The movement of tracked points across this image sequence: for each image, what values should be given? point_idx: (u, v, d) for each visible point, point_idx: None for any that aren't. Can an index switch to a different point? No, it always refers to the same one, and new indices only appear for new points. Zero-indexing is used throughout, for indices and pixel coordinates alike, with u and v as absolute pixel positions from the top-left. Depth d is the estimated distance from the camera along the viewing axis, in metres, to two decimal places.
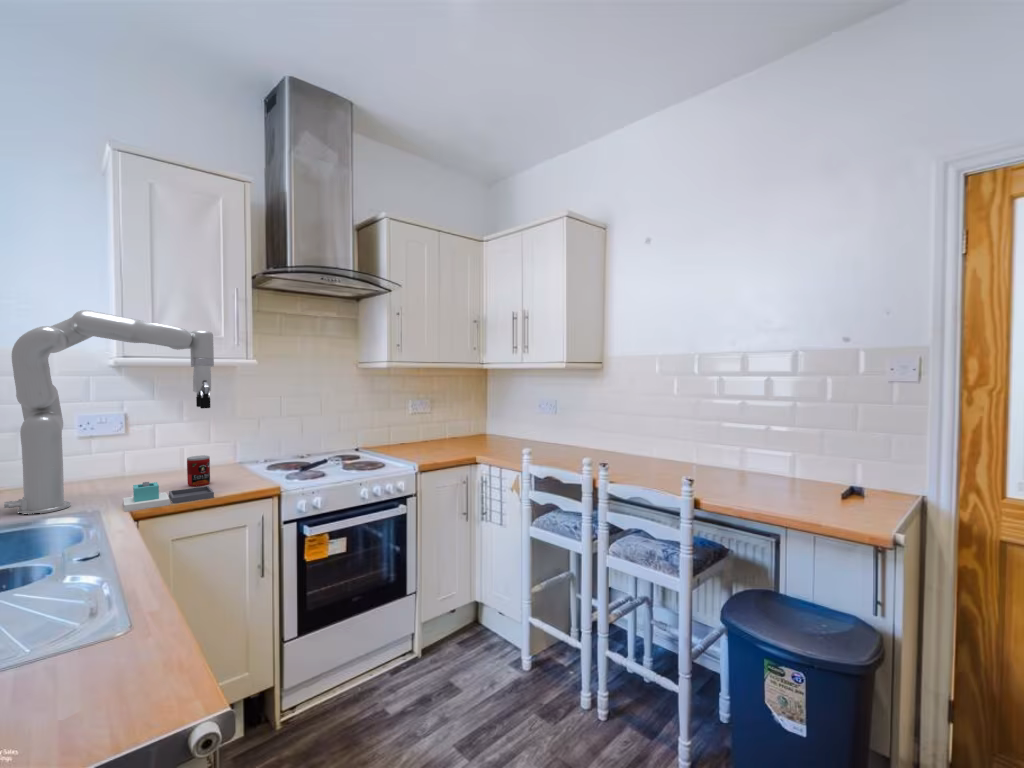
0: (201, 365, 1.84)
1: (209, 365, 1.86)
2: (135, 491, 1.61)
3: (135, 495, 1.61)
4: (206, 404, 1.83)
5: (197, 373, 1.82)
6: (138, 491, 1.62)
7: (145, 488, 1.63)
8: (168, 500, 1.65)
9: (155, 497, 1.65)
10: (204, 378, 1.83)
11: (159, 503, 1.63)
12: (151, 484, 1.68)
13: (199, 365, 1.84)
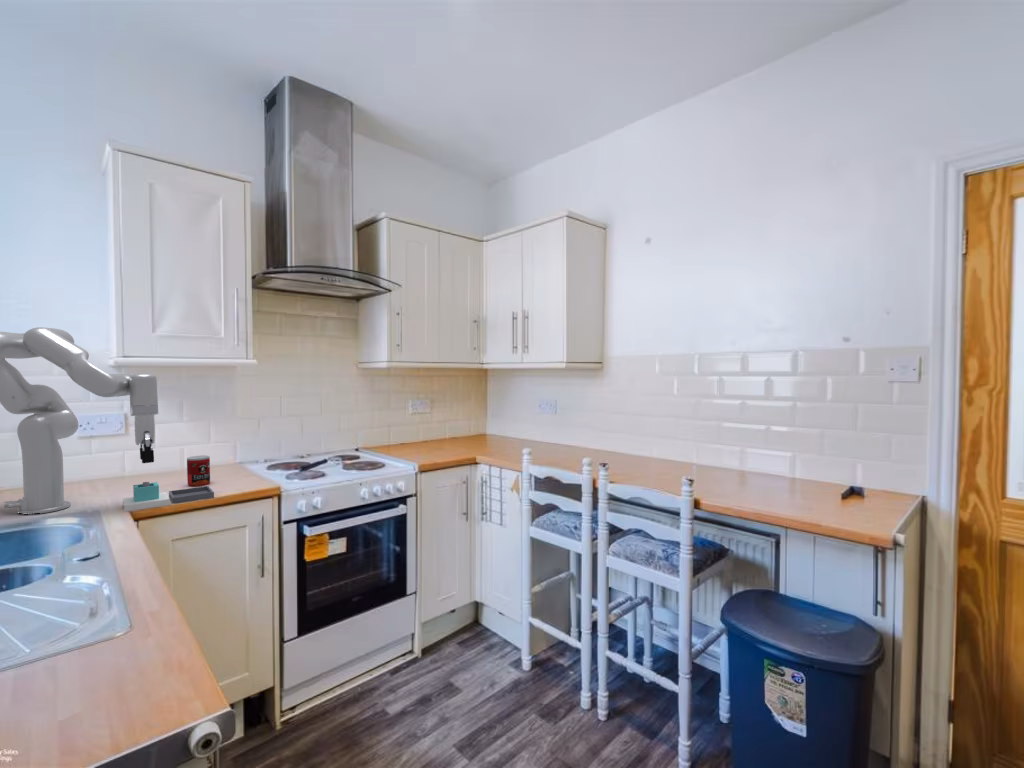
0: (142, 414, 1.62)
1: (152, 413, 1.64)
2: (135, 491, 1.61)
3: (135, 495, 1.61)
4: (149, 458, 1.61)
5: (137, 423, 1.60)
6: (138, 491, 1.62)
7: (145, 488, 1.63)
8: (168, 500, 1.65)
9: (155, 497, 1.65)
10: (146, 429, 1.61)
11: (159, 503, 1.63)
12: (151, 484, 1.68)
13: (140, 414, 1.61)
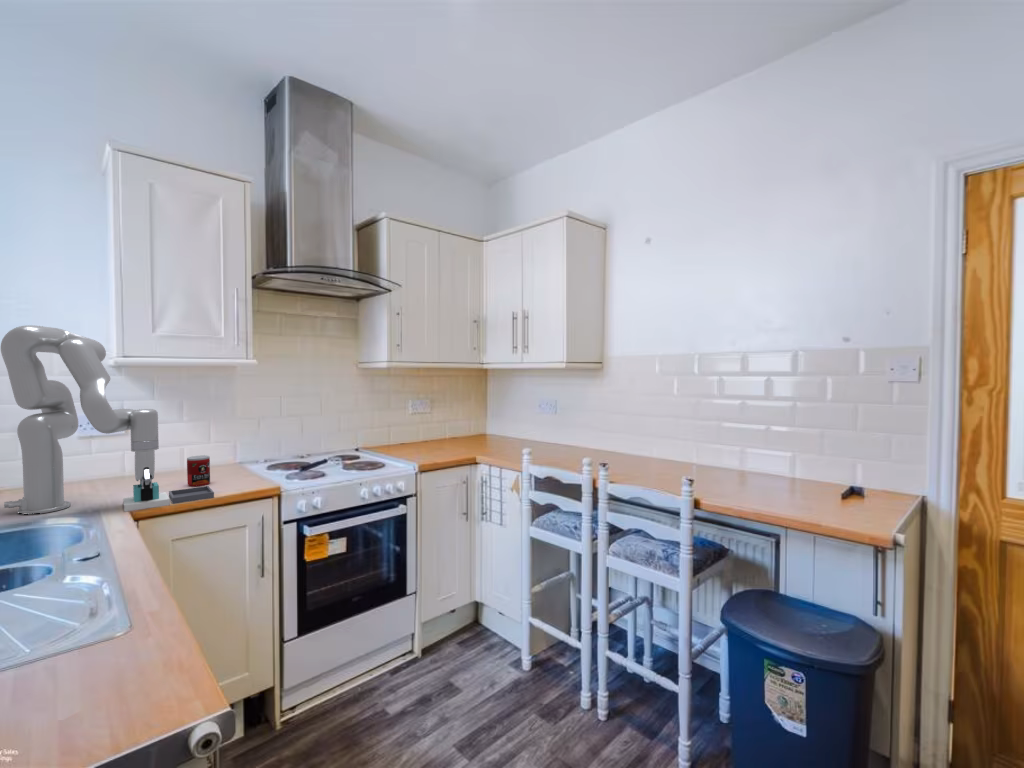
0: (142, 450, 1.62)
1: (152, 449, 1.64)
2: (135, 491, 1.61)
3: (135, 495, 1.61)
4: (148, 496, 1.62)
5: (137, 459, 1.60)
6: (138, 491, 1.62)
7: None
8: (168, 500, 1.65)
9: (155, 497, 1.65)
10: (146, 465, 1.61)
11: (159, 503, 1.63)
12: None
13: (140, 450, 1.62)
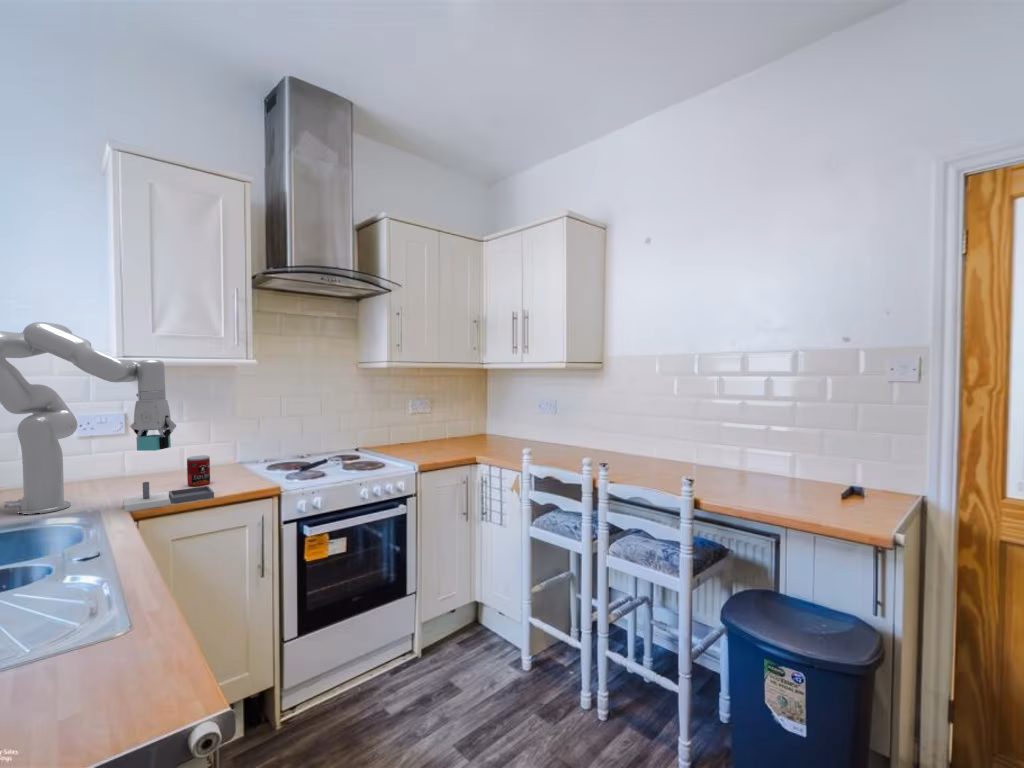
0: (160, 399, 1.65)
1: (165, 398, 1.68)
2: (155, 440, 1.63)
3: (155, 443, 1.63)
4: (167, 444, 1.67)
5: (159, 408, 1.64)
6: (157, 440, 1.64)
7: None
8: (168, 500, 1.65)
9: None
10: (166, 413, 1.66)
11: (159, 503, 1.63)
12: (151, 436, 1.68)
13: (158, 399, 1.65)
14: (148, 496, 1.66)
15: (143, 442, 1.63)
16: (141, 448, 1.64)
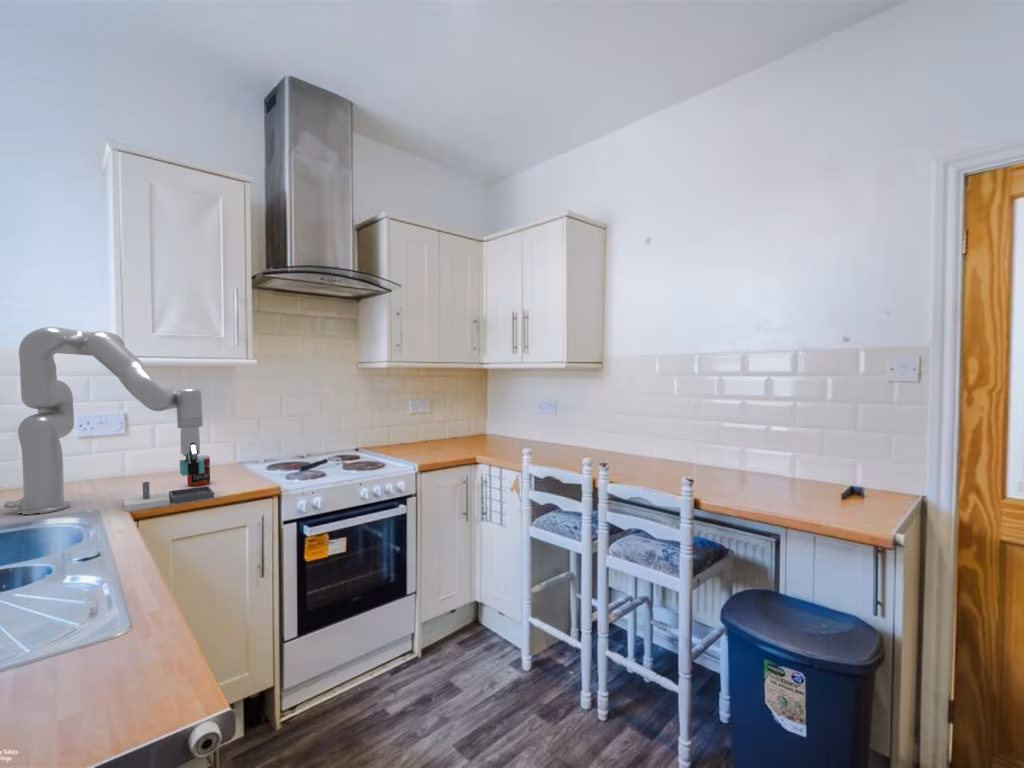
0: (188, 426, 1.71)
1: (197, 425, 1.73)
2: (183, 465, 1.70)
3: (183, 469, 1.70)
4: (194, 470, 1.71)
5: (184, 435, 1.69)
6: (185, 465, 1.71)
7: None
8: (168, 500, 1.65)
9: (201, 471, 1.74)
10: (192, 440, 1.70)
11: (159, 503, 1.63)
12: None
13: (186, 426, 1.71)
14: (148, 496, 1.66)
15: (180, 466, 1.73)
16: (180, 471, 1.74)
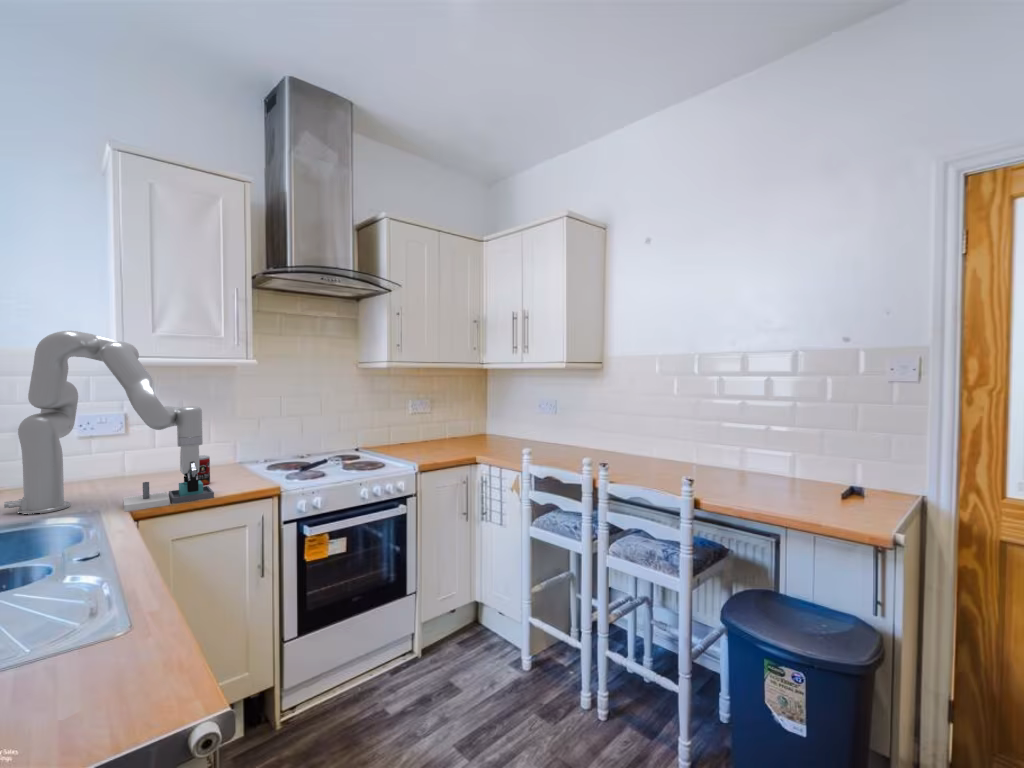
0: (188, 445, 1.71)
1: (197, 444, 1.73)
2: (182, 489, 1.70)
3: (182, 492, 1.70)
4: (194, 487, 1.71)
5: (184, 454, 1.70)
6: (184, 489, 1.71)
7: None
8: (168, 500, 1.65)
9: None
10: (192, 459, 1.71)
11: (159, 503, 1.63)
12: None
13: (186, 445, 1.71)
14: (148, 496, 1.66)
15: (179, 489, 1.73)
16: (179, 494, 1.74)
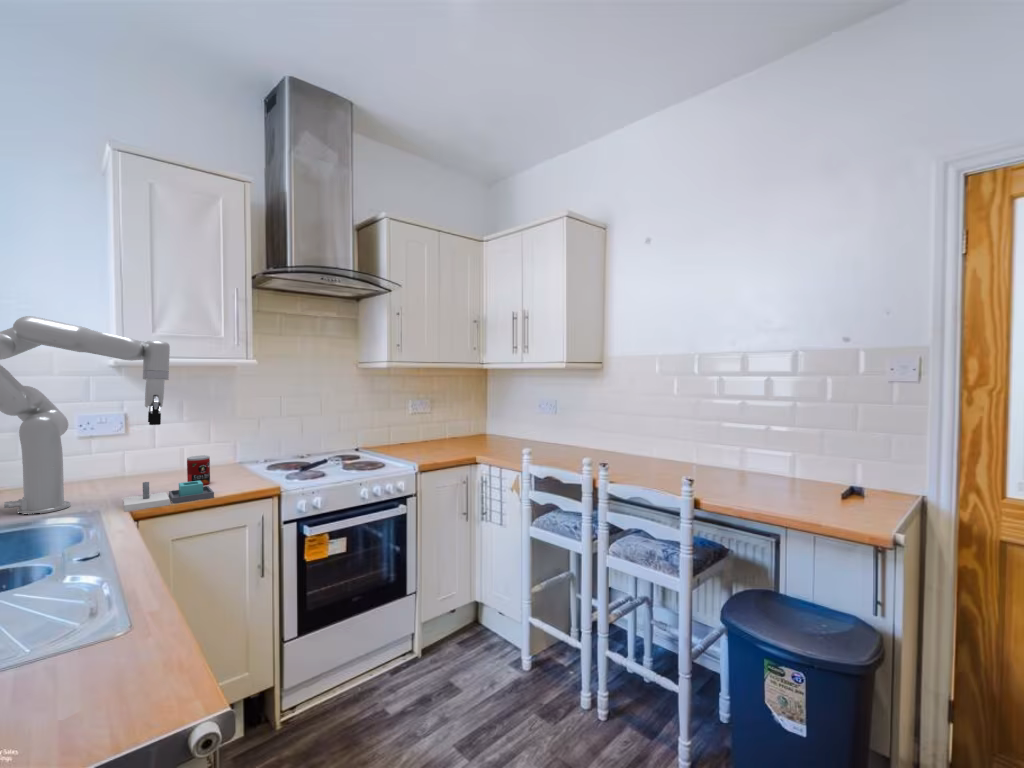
0: (153, 378, 1.71)
1: (162, 378, 1.73)
2: (182, 489, 1.70)
3: (182, 492, 1.70)
4: (156, 420, 1.70)
5: (148, 387, 1.69)
6: (184, 489, 1.71)
7: (191, 486, 1.72)
8: (168, 500, 1.65)
9: None
10: (155, 392, 1.70)
11: (159, 503, 1.63)
12: (195, 482, 1.77)
13: (151, 378, 1.71)
14: (148, 496, 1.66)
15: (179, 489, 1.73)
16: (179, 494, 1.74)
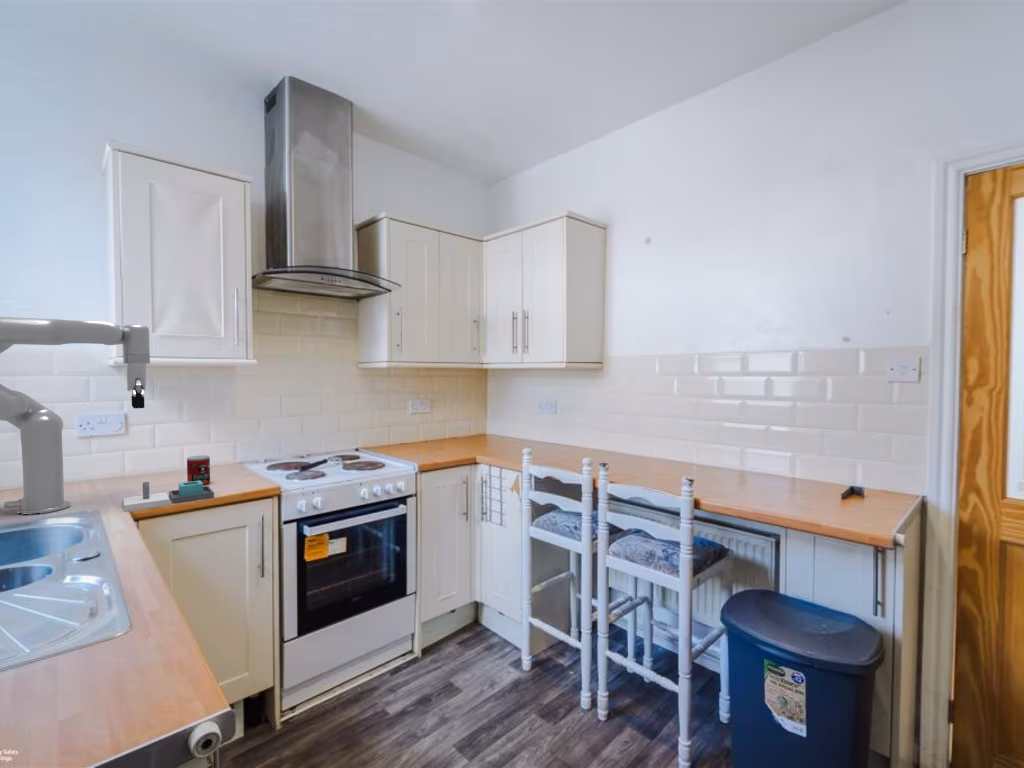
0: (134, 362, 1.71)
1: (143, 362, 1.73)
2: (182, 489, 1.70)
3: (182, 492, 1.70)
4: (139, 404, 1.70)
5: (129, 370, 1.70)
6: (184, 489, 1.71)
7: (191, 486, 1.72)
8: (168, 500, 1.65)
9: None
10: (137, 376, 1.71)
11: (159, 503, 1.63)
12: (195, 482, 1.77)
13: (132, 362, 1.71)
14: (148, 496, 1.66)
15: (179, 489, 1.73)
16: (179, 494, 1.74)
